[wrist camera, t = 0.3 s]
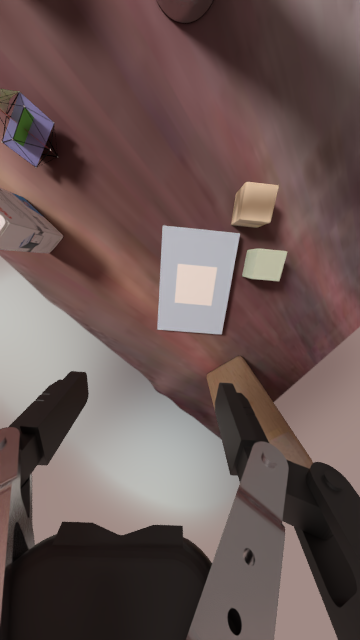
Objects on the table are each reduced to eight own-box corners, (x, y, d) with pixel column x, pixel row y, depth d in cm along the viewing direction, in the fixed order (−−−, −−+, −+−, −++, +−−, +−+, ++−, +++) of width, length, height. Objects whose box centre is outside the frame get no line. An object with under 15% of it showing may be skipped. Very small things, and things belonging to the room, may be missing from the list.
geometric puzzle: (76, 141, 27) (5, 71, 20) (57, 184, 28) (-14, 134, 21) (59, 131, 30) (-8, 67, 23) (42, 170, 31) (-24, 123, 24)
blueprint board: (163, 226, 33) (162, 225, 31) (237, 234, 33) (240, 233, 32) (158, 326, 39) (157, 329, 38) (220, 331, 40) (221, 334, 38)
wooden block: (239, 352, 41) (291, 430, 23) (258, 381, 44) (319, 471, 25) (204, 373, 43) (225, 462, 24) (224, 399, 46) (258, 497, 27)
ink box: (9, 217, 32) (-82, 194, 21) (24, 195, 31) (-63, 158, 20) (50, 254, 34) (-12, 252, 23) (65, 235, 33) (8, 222, 22)
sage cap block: (247, 250, 34) (258, 248, 29) (272, 252, 34) (287, 251, 30) (242, 276, 36) (251, 278, 31) (265, 278, 36) (279, 281, 31)
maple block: (236, 193, 31) (246, 181, 26) (263, 196, 31) (278, 185, 27) (230, 225, 33) (239, 219, 28) (257, 227, 33) (270, 222, 28)
